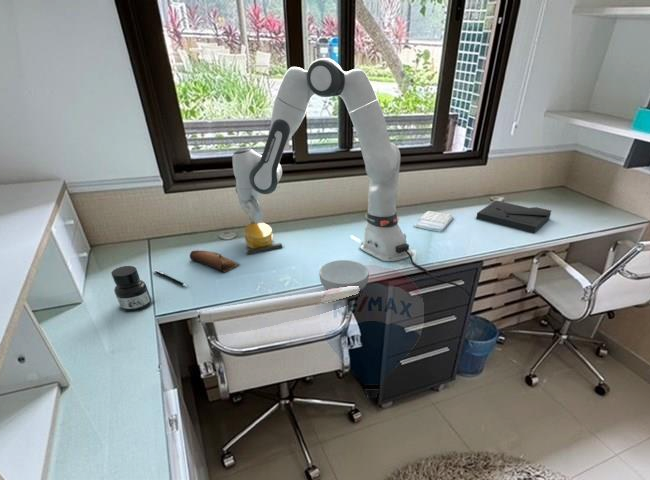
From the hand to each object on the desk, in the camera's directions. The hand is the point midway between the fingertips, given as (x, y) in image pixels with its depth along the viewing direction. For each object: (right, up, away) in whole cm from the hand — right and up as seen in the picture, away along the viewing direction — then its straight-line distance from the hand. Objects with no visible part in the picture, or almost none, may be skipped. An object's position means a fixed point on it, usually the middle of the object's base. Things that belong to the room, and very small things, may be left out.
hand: (254, 226), depth 168 cm
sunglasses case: (-11, -18, -15) cm, 26 cm away
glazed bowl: (+3, -6, -1) cm, 7 cm away
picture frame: (+119, +12, +30) cm, 123 cm away
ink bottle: (-26, -36, -39) cm, 59 cm away
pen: (-22, -26, -26) cm, 42 cm away
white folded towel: (+79, +8, +24) cm, 83 cm away
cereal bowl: (+40, -29, -28) cm, 57 cm away
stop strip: (+6, -11, -5) cm, 13 cm away
